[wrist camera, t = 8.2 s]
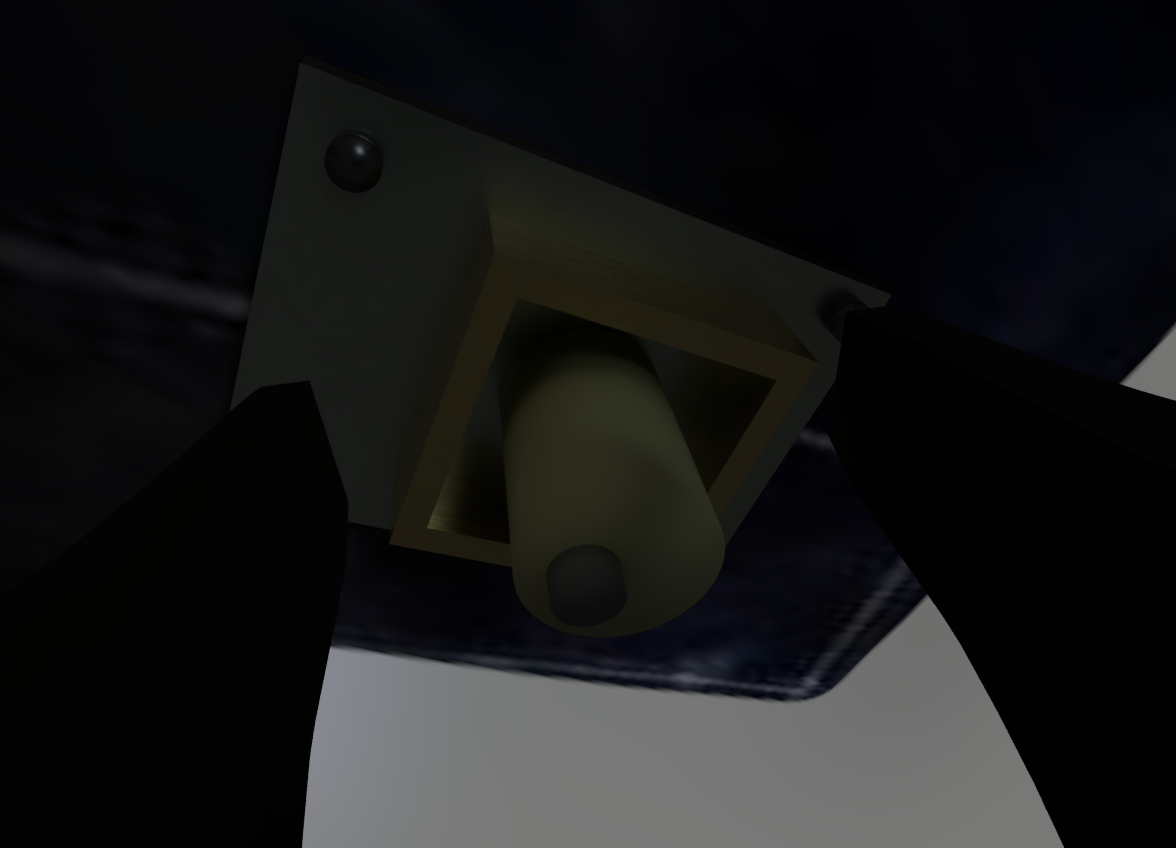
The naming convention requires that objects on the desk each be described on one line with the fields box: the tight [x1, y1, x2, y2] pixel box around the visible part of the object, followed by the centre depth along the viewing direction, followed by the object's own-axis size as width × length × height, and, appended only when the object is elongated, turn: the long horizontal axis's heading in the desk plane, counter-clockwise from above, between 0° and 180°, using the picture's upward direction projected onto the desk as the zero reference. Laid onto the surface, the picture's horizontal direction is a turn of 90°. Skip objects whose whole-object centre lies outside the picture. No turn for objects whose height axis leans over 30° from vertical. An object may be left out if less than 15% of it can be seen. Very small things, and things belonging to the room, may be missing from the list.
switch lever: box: [500, 329, 725, 637], centre depth 18 cm, size 5×5×7 cm
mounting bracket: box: [230, 55, 891, 567], centre depth 20 cm, size 16×12×4 cm
